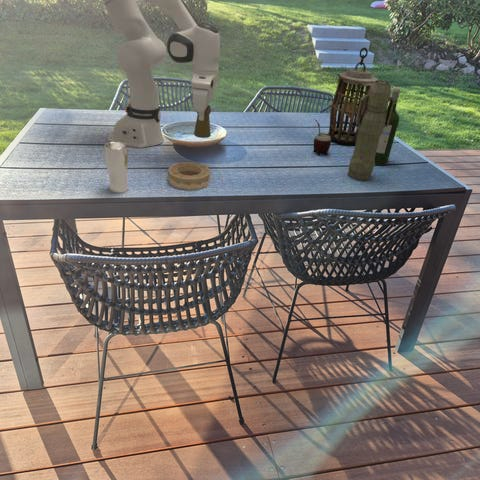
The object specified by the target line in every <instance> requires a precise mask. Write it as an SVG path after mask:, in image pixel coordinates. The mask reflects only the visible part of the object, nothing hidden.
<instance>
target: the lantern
mask: <svg viewBox="0 0 480 480" xmlns="http://www.w3.org/2000/svg"><path fill="white" fill-rule="evenodd" d="M363 51H365V55H364V54H362V52H363ZM368 52H369V50H368V49H367V47H362V48H361V49H360V51H359V57H360V62H358V63H357V64H356V65H355V68H348V70H347V71H345V72H341V73H338V74H337V75H338V82H337V85H336V88H335V92H334V95H333V99H332V101H331V102H332V103H331V105H330V113H329V128H328V132H327V134H328V135H330V138H331V144H334V145H335V144H336V145H338V146H341V145H342V147H349V146H354V147H355V145H356V140H357V136H358V126H359V125H358V124H357V123H356V117H357V113H358V108H359V104H360V99H361V98H362V97H363V96H364V95H367V94H368V90H369V88H370V86H371V85H372V83H373V82H375V81H379V79H378V77H376V76H374V75H372V71H370V70H368V69H366V67H367V66H366V65H365V63H364V59H366V57H367V56H368V54H369V53H368ZM358 66H363V68H362V69H361V68H358ZM366 99H367V98H366ZM366 99H365V101H364V105H363V109H362V113H363V111H364V108H365V106H366ZM362 113H361V115H362ZM355 129H356V130H355Z"/></svg>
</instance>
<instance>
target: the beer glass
mask: <svg viewBox="0 0 480 480" xmlns="http://www.w3.org/2000/svg"><path fill="white" fill-rule="evenodd" d="M128 155H129V154H128V150H127V145H126V144H125V143H122V142H109V141H108V142H107V143H105V144H104V161H105V166H106V171H107V173H108V177H109V185H108V186H109V187H108V188H109V191H110V192H112V193H113V194H115V193H116V194H122V193H126V192H127V191H128V190H129V184H128V180H127V179H128V178H127V177H128V176H127V174H128V173H127V172H128V166H129V165H128V164H129V158H128Z"/></svg>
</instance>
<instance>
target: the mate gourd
mask: <svg viewBox="0 0 480 480" xmlns="http://www.w3.org/2000/svg"><path fill="white" fill-rule="evenodd" d="M314 120H315V122H316V123H317V127H318V133H317V134H316V135H315V136H314V139H313V151H312V152H313V153H317V156H318V157H319V156H321V155H324V156H328V152H329V150H330V148H331V144H332V142H331V138H330V135H328V133H324V132H321V125H320V123H319V121H318V120H317V119H314Z"/></svg>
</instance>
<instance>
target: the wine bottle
mask: <svg viewBox="0 0 480 480" xmlns="http://www.w3.org/2000/svg"><path fill="white" fill-rule="evenodd" d="M400 94H401V88H400V87H393V88H392V90H391V95H390V97H393V99H394V101H395V103H394V106H393V110H392V114H391V117H390V121H389V124H388V127H385V128H384V129H383V133H382V135H381V136H380V139H379V143H378V147H377V150H376V154H375V158H374V159H375V165H374V166H377V165H384V166H386V165H387V164H388V162H389V158H390V155H391V151H392V147H393V144H394V140H395V136H396V133H397V129H398V126H399V122H400V116H399V114H398V113H397V110H396V108H397V105H398V99H399V96H400ZM389 105H390V101H389V103H388V107H387V108H386V117H387V113H388V109H389Z"/></svg>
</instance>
